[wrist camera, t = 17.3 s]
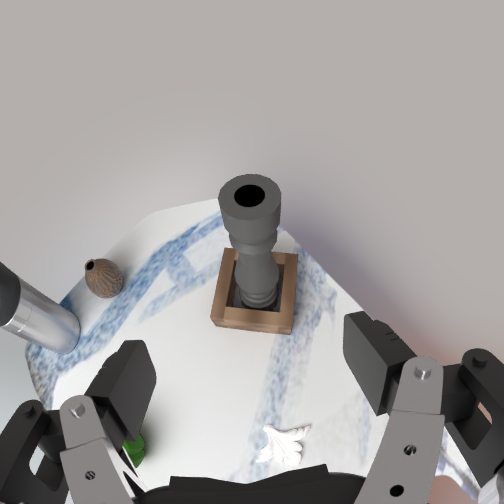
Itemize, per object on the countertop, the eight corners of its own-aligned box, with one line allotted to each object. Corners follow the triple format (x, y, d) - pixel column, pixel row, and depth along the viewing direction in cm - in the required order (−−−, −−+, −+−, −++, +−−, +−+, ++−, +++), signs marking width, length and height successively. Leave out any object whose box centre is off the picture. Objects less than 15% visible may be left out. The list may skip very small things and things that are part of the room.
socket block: (216, 326, 43) (210, 317, 39) (228, 262, 49) (224, 247, 45) (289, 334, 42) (292, 326, 38) (295, 268, 48) (297, 254, 44)
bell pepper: (110, 417, 35) (76, 416, 27) (153, 427, 35) (124, 431, 26) (110, 458, 31) (76, 466, 22) (152, 471, 30) (124, 484, 22)
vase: (114, 309, 46) (89, 290, 38) (93, 291, 48) (69, 272, 40) (134, 280, 48) (113, 258, 41) (112, 265, 50) (91, 242, 43)
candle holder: (282, 286, 46) (291, 179, 25) (271, 319, 44) (273, 230, 22) (247, 277, 48) (230, 167, 26) (235, 309, 45) (204, 214, 23)
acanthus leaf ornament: (308, 424, 35) (310, 425, 33) (304, 463, 31) (305, 466, 30) (260, 422, 36) (260, 423, 34) (255, 461, 32) (255, 464, 31)
